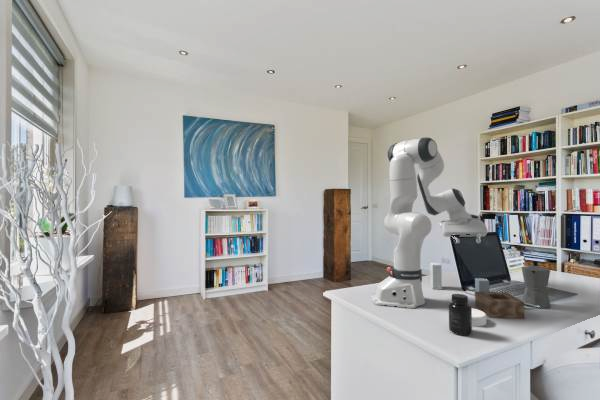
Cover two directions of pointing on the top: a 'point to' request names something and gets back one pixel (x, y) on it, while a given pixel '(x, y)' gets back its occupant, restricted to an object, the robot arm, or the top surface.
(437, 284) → the skincare box
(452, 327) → the supplement bottle
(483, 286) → the square peg
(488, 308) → the socket block
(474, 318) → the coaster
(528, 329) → the top surface
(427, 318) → the top surface
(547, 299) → the coffeepot
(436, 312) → the top surface
